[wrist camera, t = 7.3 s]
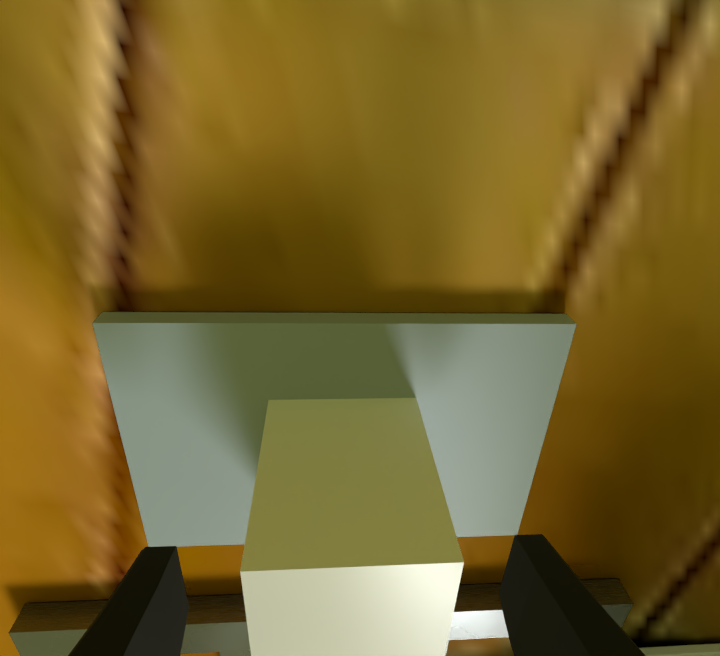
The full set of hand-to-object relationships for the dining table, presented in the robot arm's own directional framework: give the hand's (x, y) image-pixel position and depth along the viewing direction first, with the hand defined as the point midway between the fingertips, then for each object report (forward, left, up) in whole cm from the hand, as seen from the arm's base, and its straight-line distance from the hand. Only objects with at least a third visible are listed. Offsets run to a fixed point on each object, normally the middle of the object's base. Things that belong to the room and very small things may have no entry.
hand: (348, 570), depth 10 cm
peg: (0, 0, -4) cm, 4 cm away
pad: (0, 0, -5) cm, 5 cm away
